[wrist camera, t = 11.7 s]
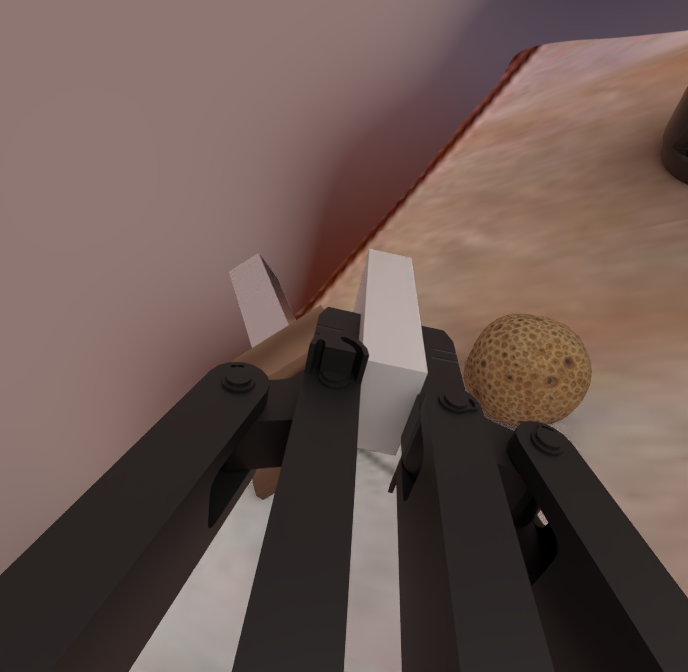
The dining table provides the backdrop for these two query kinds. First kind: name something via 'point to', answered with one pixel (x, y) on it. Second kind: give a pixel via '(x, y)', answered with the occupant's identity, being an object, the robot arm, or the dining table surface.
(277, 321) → the steel peg
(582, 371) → the natural sponge
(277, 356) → the wooden square hole stand
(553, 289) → the dining table surface
